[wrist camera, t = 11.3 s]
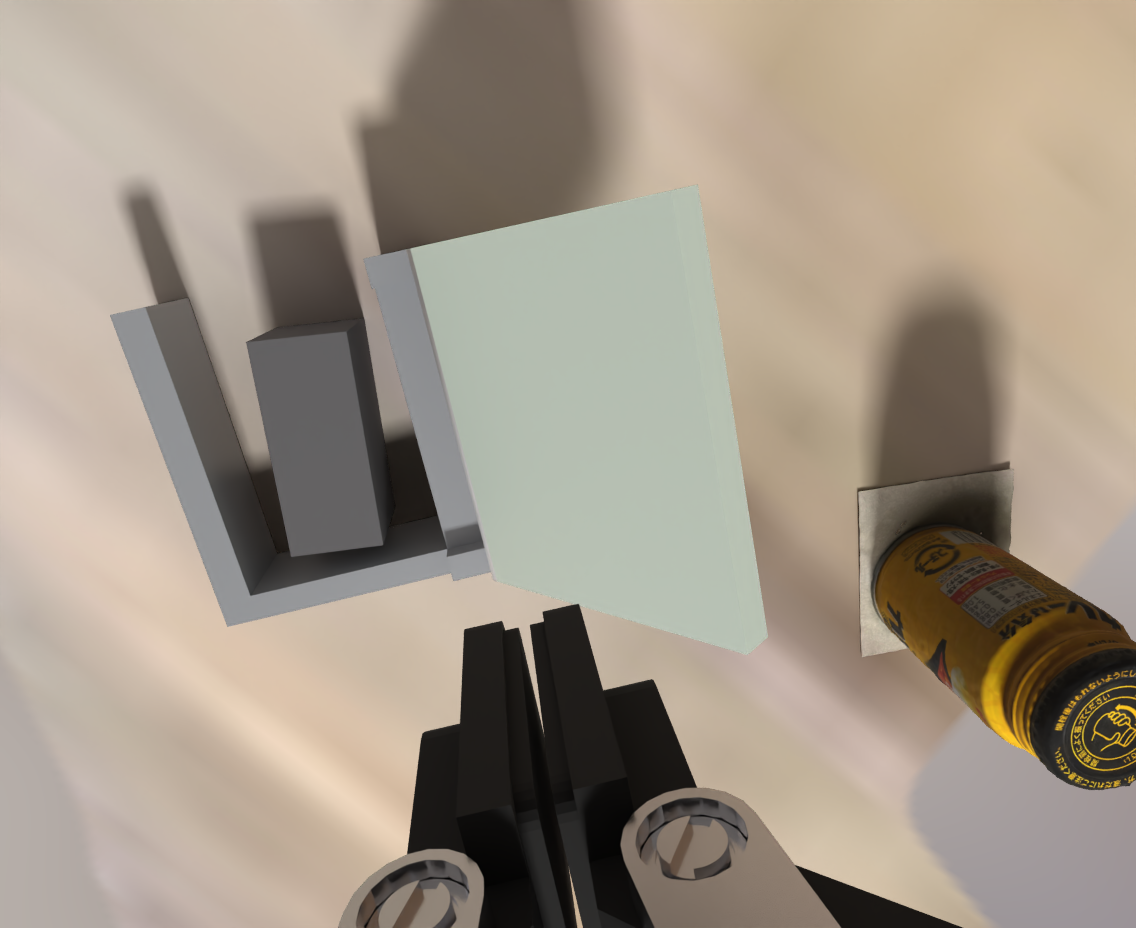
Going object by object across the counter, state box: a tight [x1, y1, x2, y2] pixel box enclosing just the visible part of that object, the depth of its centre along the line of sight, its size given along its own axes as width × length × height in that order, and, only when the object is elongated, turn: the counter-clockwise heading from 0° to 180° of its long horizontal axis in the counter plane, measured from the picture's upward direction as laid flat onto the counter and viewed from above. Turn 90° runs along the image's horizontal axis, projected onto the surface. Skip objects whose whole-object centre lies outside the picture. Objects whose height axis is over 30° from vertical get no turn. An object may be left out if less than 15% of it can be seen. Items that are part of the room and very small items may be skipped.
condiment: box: [858, 469, 1136, 790], centre depth 32 cm, size 7×8×12 cm
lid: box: [406, 185, 768, 655], centre depth 24 cm, size 12×11×1 cm
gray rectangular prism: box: [246, 318, 395, 557], centre depth 31 cm, size 8×3×5 cm, turn 6°
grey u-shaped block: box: [110, 249, 491, 627], centre depth 31 cm, size 12×11×5 cm
